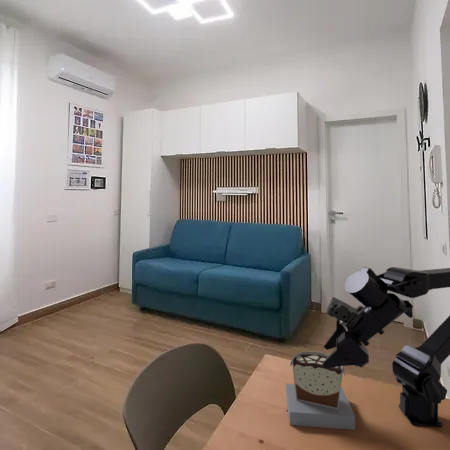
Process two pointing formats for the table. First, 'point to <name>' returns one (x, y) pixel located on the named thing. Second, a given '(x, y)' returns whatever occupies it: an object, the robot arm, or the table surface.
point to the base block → (319, 412)
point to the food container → (316, 379)
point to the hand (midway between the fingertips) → (324, 356)
